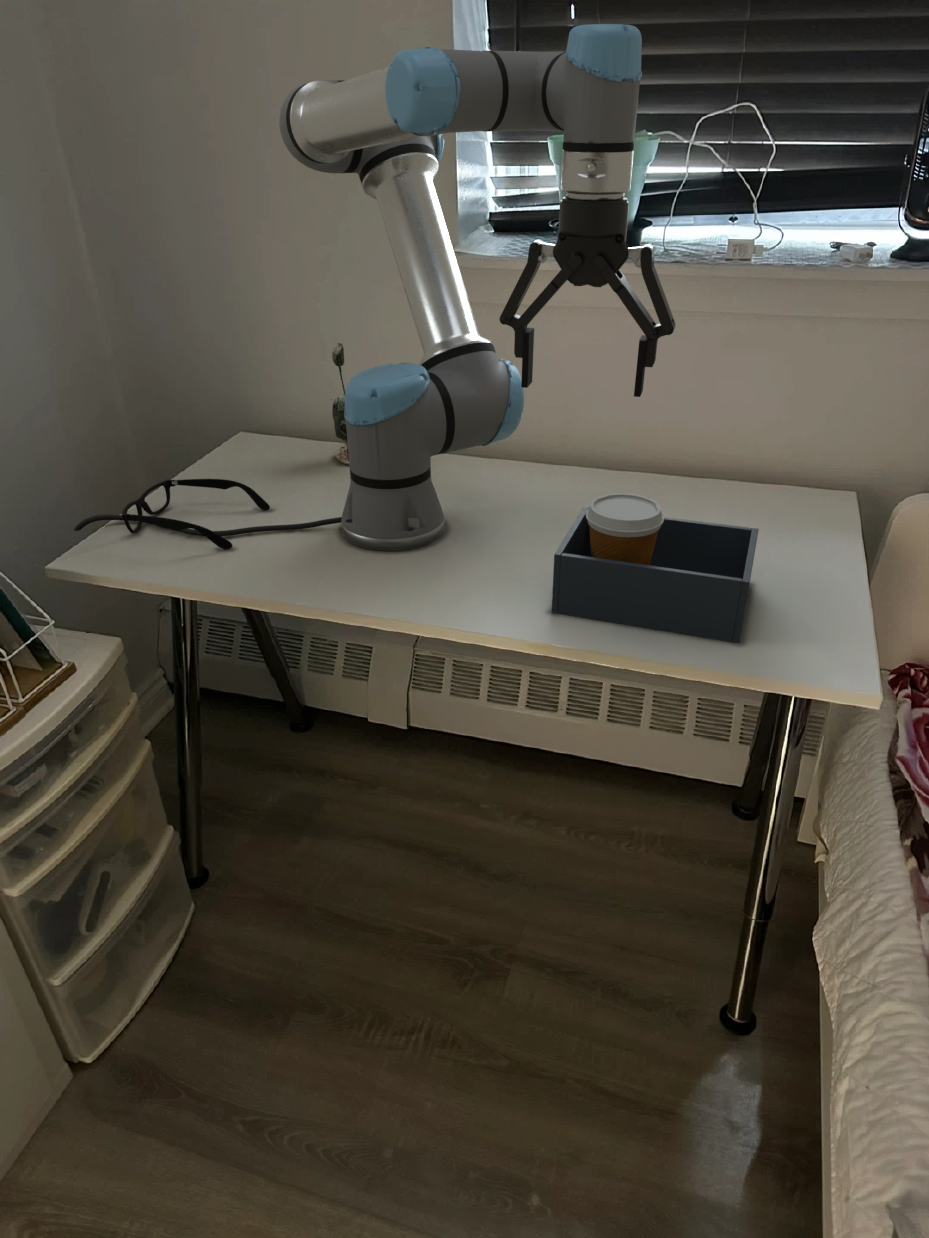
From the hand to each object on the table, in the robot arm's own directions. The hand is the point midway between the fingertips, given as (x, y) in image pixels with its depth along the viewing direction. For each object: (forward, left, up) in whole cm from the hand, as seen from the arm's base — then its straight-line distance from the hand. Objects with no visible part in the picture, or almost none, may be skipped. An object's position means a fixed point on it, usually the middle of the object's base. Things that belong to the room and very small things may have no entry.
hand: (581, 389), depth 107 cm
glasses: (-57, -3, -25) cm, 63 cm away
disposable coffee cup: (+7, -4, -25) cm, 26 cm away
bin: (+12, -4, -25) cm, 28 cm away
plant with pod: (-47, +31, -25) cm, 62 cm away
